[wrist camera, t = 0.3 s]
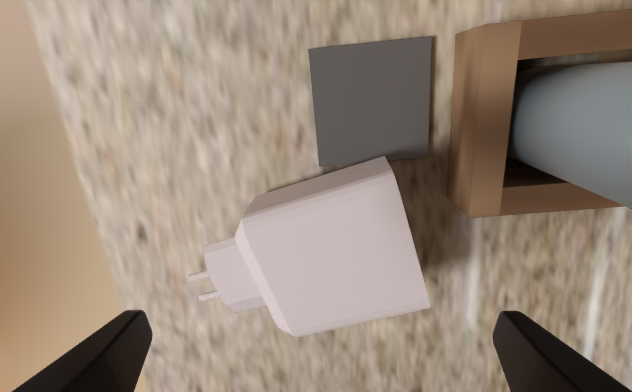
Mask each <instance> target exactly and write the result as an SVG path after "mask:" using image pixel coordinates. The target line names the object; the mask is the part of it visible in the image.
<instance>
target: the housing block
mask: <svg viewBox="0 0 632 392" xmlns="http://www.w3.org/2000/svg"><path fill="white" fill-rule="evenodd" d="M593 52H600V55H599V60H598V63H616V62H632V9H628V10H618V11H609V12H599V13H590V14H580V15H571V16H562V17H552V18H543V19H533V20H524V21H515V22H505V23H496V24H486V25H482V26H479V27H476V28H473V29H470V30H467V31H464V32H461V33H458V34H456V41H455V59H454V78H453V97H452V115H451V134H450V153H449V171H448V190H447V197H448V198H449V199H450V200H451V201H452V202H453V203H454V204H455V205H456V206H457V207H458V208H459V209H460V210H461V211H463V212H464V213H465V214H466V215H467V216H468V217H469V218H474V217H488V216H501V215H515V214H529V213H542V212H556V211H569V210H583V209H596V208H610V207H623V206H624V205H622V204H619V203H617V202H615V201H612V200H610V199H607V198H605V197H603V196H600V195H598V194H596V193H593V192H591V191H589V190H586V189H584V188H581V187H579V186H577V185H574V184H572V183H570V182H567V181H565V180H563V179H560V178H558V177H555V176H553V175H551V174H548V173H546V172H544V171H541V170H539V169H537V168H534V167H532V166H526V167H514V168H505V163H506V154H507V145H508V137H509V128H510V120H511V111H512V103H513V94H514V86H515V77H516V69H517V60H523V59H533V58H543V57H553V56H563V55H573V54H583V53H593Z"/></svg>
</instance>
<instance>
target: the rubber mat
mask: <svg viewBox="0 0 632 392" xmlns="http://www.w3.org/2000/svg"><path fill="white" fill-rule="evenodd" d="M431 38H432V36H429V37H420V38H410V39H401V40H391V41H382V42H372V43H363V44H353V45H344V46H334V47H325V48H315V49H309V60H310V71H311V82H312V93H313V103H314V114H315V125H316V136H317V146H318V157H319V166H329V165H341V164H353V163H363V162H366V161H369V160H373V159H376V158H379V157H382V156H385V158H386V159H387V161H388V160H400V159H412V158H424V157H428V139H429V105H430V72H431Z"/></svg>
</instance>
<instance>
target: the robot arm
mask: <svg viewBox="0 0 632 392" xmlns="http://www.w3.org/2000/svg"><path fill="white" fill-rule="evenodd" d="M151 341H152V330H151V327H150V324H149V322H148V319H147V316H146V314H145V312H144V311H143V310H127V311H124V312H123V313H121V314H120V315H118V316H117V317H116V318H114V319H113V320H112V321H110V322H109V323H107V324H106V325H104V326H103V327H102V328H100V329H99V330H98V331H96V332H95V333H93V334H92V335H91V336H89V337H88V338H86V339H85V340H84V341H82V342H81V343H79V344H78V345H76V346H75V347H74V348H72V349H71V350H69V351H68V352H67V353H65V354H64V355H62V356H61V357H60V358H58V359H57V360H55V361H54V362H53V363H51V364H50V365H48V366H47V367H46V368H44V369H43V370H41V371H40V372H39V373H37V374H36V375H34V376H33V377H32V378H30V379H29V380H27V381H26V382H25V383H24V384H22V385H20V386H19V387H18V388H16V389H15V390H13V391H12V392H134V390H135V387H136V384H137V381H138V378H139V376H140V373H141V370H142V367H143V364H144V361H145V359H146V356H147V353H148V350H149V347H150V344H151ZM493 343H494V346H495V349H496V351H497V354H498V357H499V360H500V363H501V366H502V368H503V371H504V374H505V377H506V380H507V383H508V385H509V388H510V391H511V392H632V391H631V390H629V389H628V388H627V387H625V386H624V385H622V384H621V383H620V382H618V381H617V380H615V379H614V378H613V377H611V376H610V375H608V374H607V373H606V372H604V371H603V370H601V369H600V368H599V367H597V366H596V365H594V364H593V363H592V362H590V361H589V360H587V359H586V358H585V357H583V356H582V355H580V354H579V353H578V352H576V351H575V350H573V349H572V348H571V347H569V346H568V345H566V344H565V343H564V342H562V341H561V340H559V339H558V338H557V337H555V336H554V335H552V334H551V333H550V332H548V331H547V330H545V329H544V328H543V327H541V326H540V325H538V324H537V323H536V322H534V321H533V320H531V319H530V318H529V317H527V316H526V315H524V314H523V313H521V312H519V311H502V312H501V313H500V314H499V316H498V319H497V322H496V325H495V328H494V331H493Z"/></svg>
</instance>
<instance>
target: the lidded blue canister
mask: <svg viewBox="0 0 632 392" xmlns="http://www.w3.org/2000/svg"><path fill="white" fill-rule="evenodd" d="M506 156H508V157H511V158H513V159H515V160H518V161H520V162H522V163H525V164H527V165H530V166H532V167H534V168H537V169H539V170H541V171H544V172H546V173H548V174H551V175H553V176H555V177H558V178H560V179H563V180H565V181H567V182H570V183H572V184H574V185H577V186H579V187H581V188H584V189H586V190H589V191H591V192H593V193H596V194H598V195H600V196H603V197H605V198H607V199H610V200H612V201H615V202H617V203H619V204H622V205H624V206H626V207H629V208H631V209H632V62H616V63H598V64H580V65H562V66H543V67H535V68H531V69H527V70H525V71H523V72H520V73H519V74H517V75H516V77H515V86H514V94H513V103H512V111H511V120H510V128H509V137H508V145H507V154H506Z"/></svg>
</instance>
